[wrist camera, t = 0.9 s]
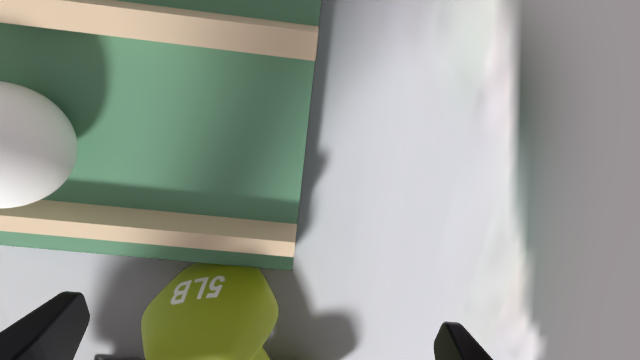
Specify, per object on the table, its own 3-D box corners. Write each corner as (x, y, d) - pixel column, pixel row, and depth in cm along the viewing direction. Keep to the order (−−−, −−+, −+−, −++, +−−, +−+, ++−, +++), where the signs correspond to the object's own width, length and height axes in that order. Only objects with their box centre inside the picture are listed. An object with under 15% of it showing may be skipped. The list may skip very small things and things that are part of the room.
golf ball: (109, 173, 18) (43, 240, 14) (4, 163, 18) (-97, 228, 13) (88, 73, 15) (-2, 117, 11) (-36, 58, 15) (-177, 98, 11)
